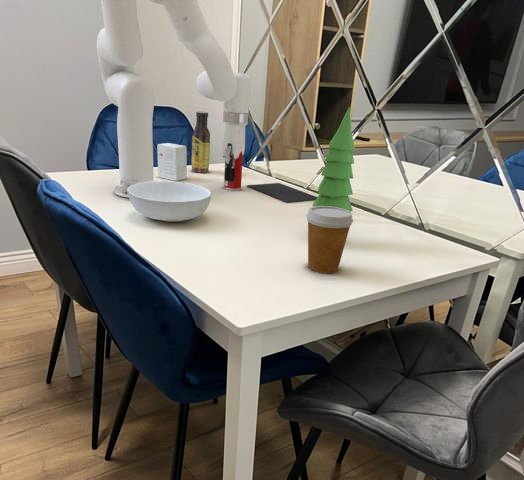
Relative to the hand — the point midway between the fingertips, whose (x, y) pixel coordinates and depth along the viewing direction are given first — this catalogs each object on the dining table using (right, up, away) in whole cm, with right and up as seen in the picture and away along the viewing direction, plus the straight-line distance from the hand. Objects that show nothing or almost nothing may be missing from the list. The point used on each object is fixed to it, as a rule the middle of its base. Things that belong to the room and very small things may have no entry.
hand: (233, 178), depth 171 cm
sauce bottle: (-13, +9, +21) cm, 26 cm away
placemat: (+16, -4, +1) cm, 17 cm away
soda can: (0, -3, +2) cm, 3 cm away
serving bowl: (-14, -21, -33) cm, 41 cm away
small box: (-21, +3, +8) cm, 22 cm away
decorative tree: (+25, -28, -40) cm, 55 cm away
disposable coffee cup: (+22, -38, -58) cm, 72 cm away
